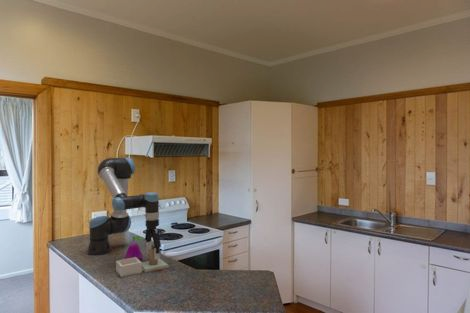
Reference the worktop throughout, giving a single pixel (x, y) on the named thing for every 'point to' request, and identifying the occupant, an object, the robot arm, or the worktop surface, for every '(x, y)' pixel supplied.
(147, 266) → the lid
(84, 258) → the worktop surface
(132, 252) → the magenta low-poly plum
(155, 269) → the mat
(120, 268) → the white open box
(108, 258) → the worktop surface
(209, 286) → the worktop surface
